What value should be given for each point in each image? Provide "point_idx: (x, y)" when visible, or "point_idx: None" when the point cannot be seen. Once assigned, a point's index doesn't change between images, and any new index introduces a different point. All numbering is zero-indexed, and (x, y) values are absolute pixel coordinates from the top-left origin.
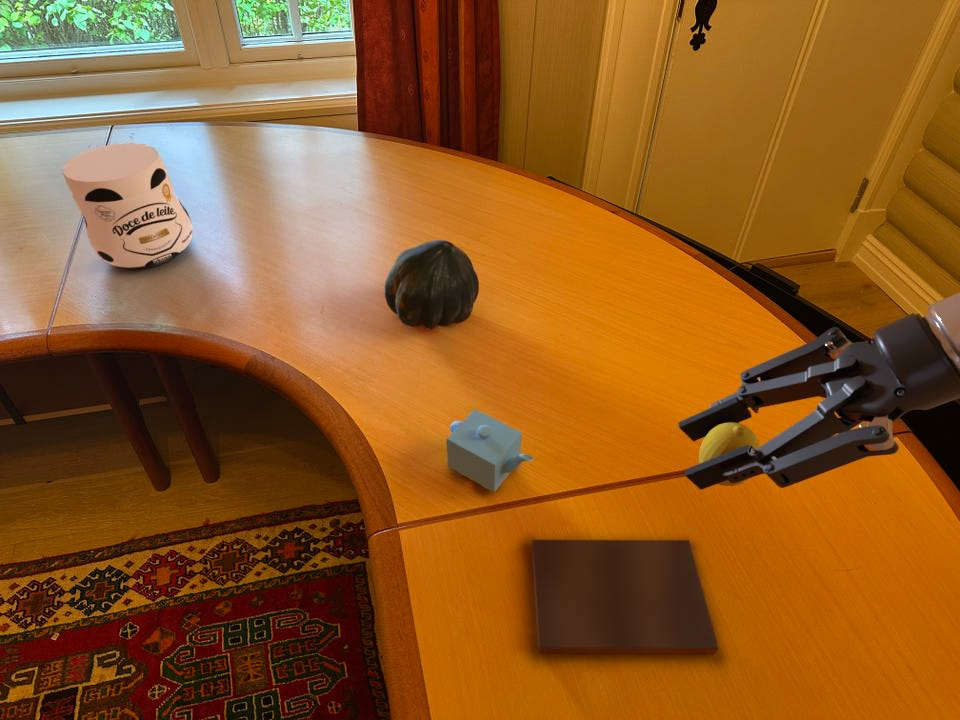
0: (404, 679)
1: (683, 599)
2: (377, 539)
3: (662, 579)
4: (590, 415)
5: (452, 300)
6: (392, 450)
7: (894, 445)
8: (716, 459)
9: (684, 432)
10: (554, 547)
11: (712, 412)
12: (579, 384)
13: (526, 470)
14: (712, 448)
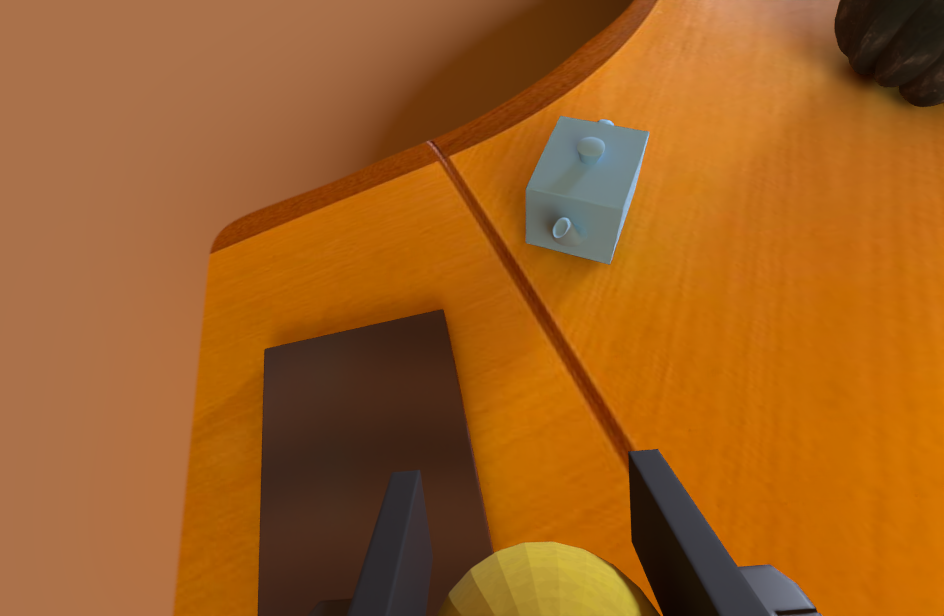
0: (245, 221)
1: None
2: (420, 145)
3: None
4: (807, 379)
5: (932, 20)
6: (567, 116)
7: None
8: (384, 565)
9: (630, 485)
10: (433, 343)
11: (694, 560)
12: (896, 344)
13: (599, 285)
14: (489, 566)
